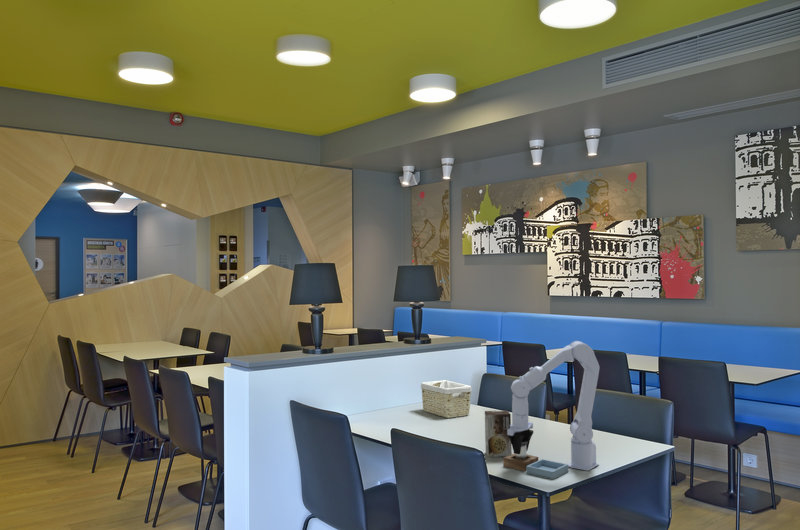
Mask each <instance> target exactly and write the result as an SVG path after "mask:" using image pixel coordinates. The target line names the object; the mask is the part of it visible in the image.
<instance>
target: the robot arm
mask: <svg viewBox="0 0 800 530" xmlns="http://www.w3.org/2000/svg"><path fill="white" fill-rule="evenodd" d="M575 360H577V361H578V363H579V364H580V365H581V367H582V368H583V376H582V381H581V382H582V383H581V386H580V387H581V388H580V393H579V398H578V403H577V410H576V413H575V414H574V417H573V421H572V422H571V423H570V424H569V425H570V426H569V430H570V433H571V435H572V437H571V438H570V461H571V462H570V463H569V464H568V463H567V464H568V468H572V469H578V470H582V471H586V472H588V471H590V470H592V469H594V468H595V467H597V466H599V463H598V462H597V447H596V444H595V442H594V440H593V438H594V431H593V427H592V426H593V419H592V414H593V408H594V403H595V398H596V397H595V396H596V391H597V385H598V380H599V375H600V374H599V373H600V365H599V361H598V359H597V357H596V355H595V350H593V349H592V347H591V346H590V345H588V344H587V343H584V342H582V341H579V340H575V341H572V342H570V344H568V345H565V346H564V347H563V348H562V349H561V350H558V352H557V353H556V354H555V355H553V356H552V357H551V358H549V359H548V360H547V361H546V362H544V363H543V364H542V365H541V366H538V365H536V366H534V367H533V366H531V367H529V371H527V372H526V373H525V374H523V375H522V376H521V375H520V376H519V377H518V378H517V379H514V381H512V384H511V386H510V390H511V392H512V396H511V399H512V400H511V421H512V422H511V425H510V428H509V429H507V436H508V437H509V439H510V441H511V448H512V451H513V454H514V453H515V454H520V451H521V442H522V440H527V445H526V452H528V450H529V445H530V441H531V439H532V436H533V434H534V430H532V429H534V423H533V422H530V421H529V401H528V400H529V398H528V396H529V394H530V391H532V390H534V388H536V387H537V386H538V385H541V383H543V382H544V381H546V379H547V375H548V373H550V372H552V371H553V370H554V369H556V368H558V367H559V366H560V365H562V364H564V363H565V362H574V361H575Z"/></svg>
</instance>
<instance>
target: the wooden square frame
mask: <svg viewBox="0 0 800 530" xmlns="http://www.w3.org/2000/svg"><path fill="white" fill-rule="evenodd" d="M526 455H527V459H526V460H519V459H515V453H514V452H513V453H512V454H511V455H509V456H503V458H502V459H503V460H502V462H503V463H502V464H503V465H502V466H503V467H505V468H508V469H509V468H510V469H514V470H518V471H521V472H522V471H524V472H526V466H528V465H530V464H532V463H535V462H537V461H539V456H537V455H536V456H535V455H530V454H527V453H526Z"/></svg>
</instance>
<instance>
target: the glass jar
mask: <svg viewBox="0 0 800 530" xmlns="http://www.w3.org/2000/svg"><path fill="white" fill-rule="evenodd" d="M526 445H527V440H522V442H521V451H520V454H515V459H519V460H526V459H527V455H528V454H527V451H526ZM526 454H527V455H526Z"/></svg>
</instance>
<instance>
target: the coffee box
mask: <svg viewBox="0 0 800 530" xmlns="http://www.w3.org/2000/svg"><path fill="white" fill-rule="evenodd" d="M511 421H512V413H510V412H509V410H484V435H485V436H484V438H485V454H486V455H487V457H488V458H499V457H500V458H501V457H503V458H504V457H507V456H509V455H511V454H513V452H512V451H513V448H512V444H511V441H510V439H509V437H508V436H507V429H509V428H510V425H511V424H512V422H511Z"/></svg>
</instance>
